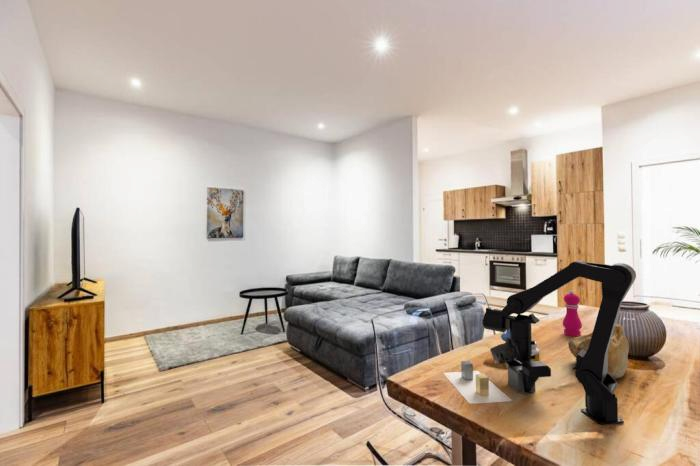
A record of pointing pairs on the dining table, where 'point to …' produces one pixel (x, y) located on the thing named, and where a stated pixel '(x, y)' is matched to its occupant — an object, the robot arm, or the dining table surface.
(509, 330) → the grapes
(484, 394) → the pale wooden block
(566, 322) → the pepper mill
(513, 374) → the dark gray block
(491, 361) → the pastry
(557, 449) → the dining table surface
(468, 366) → the steel post
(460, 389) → the board
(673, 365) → the dining table surface
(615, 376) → the rough brown rock
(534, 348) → the supplement bottle
